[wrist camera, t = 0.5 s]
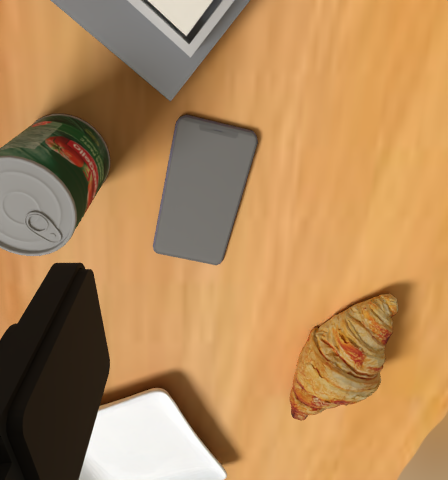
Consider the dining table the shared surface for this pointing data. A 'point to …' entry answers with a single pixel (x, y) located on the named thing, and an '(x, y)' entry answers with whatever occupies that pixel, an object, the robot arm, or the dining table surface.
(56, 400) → the robot arm
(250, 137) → the smartphone
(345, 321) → the croissant
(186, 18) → the button
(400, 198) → the dining table surface
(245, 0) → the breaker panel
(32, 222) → the canned tomato
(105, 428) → the salad plate
